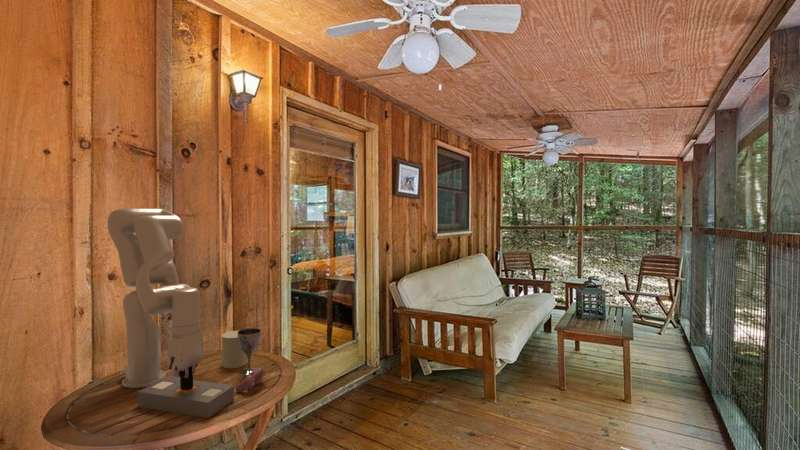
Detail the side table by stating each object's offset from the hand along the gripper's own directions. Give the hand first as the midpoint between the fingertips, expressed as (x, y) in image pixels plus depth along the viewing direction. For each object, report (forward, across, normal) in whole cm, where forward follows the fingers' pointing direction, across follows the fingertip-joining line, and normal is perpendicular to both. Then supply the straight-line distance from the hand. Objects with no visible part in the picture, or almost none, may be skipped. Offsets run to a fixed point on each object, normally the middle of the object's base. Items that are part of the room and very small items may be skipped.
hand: (186, 388), depth 117 cm
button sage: (+3, 0, +9) cm, 9 cm away
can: (+5, -30, -6) cm, 31 cm away
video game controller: (+5, -15, +12) cm, 20 cm away
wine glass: (+5, -25, +4) cm, 26 cm away
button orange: (+3, 0, 0) cm, 3 cm away
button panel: (+4, 0, 0) cm, 4 cm away
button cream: (+3, 0, -9) cm, 10 cm away
